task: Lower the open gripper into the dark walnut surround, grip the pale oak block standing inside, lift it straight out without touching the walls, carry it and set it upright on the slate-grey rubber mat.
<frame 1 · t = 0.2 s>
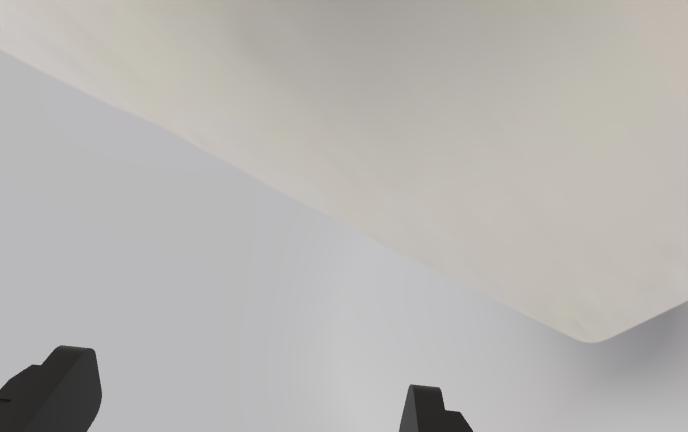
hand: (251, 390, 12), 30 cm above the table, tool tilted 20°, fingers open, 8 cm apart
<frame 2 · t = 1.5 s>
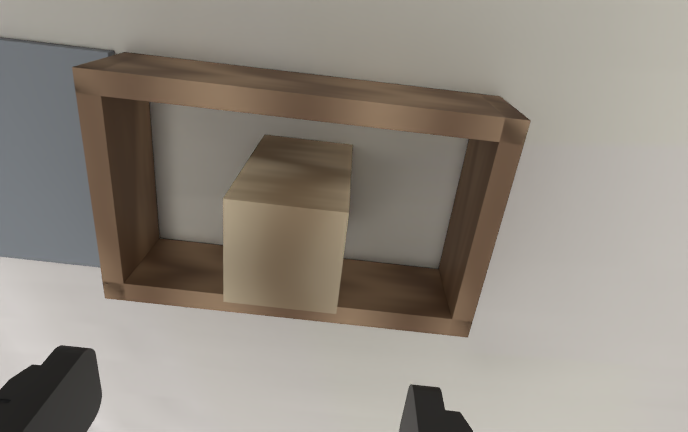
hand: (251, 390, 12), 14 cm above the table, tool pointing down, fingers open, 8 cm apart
oak block: (296, 213, 21), in the walnut surround
walnut surround: (305, 181, 25), on the table
slate mat: (21, 157, 25), on the table
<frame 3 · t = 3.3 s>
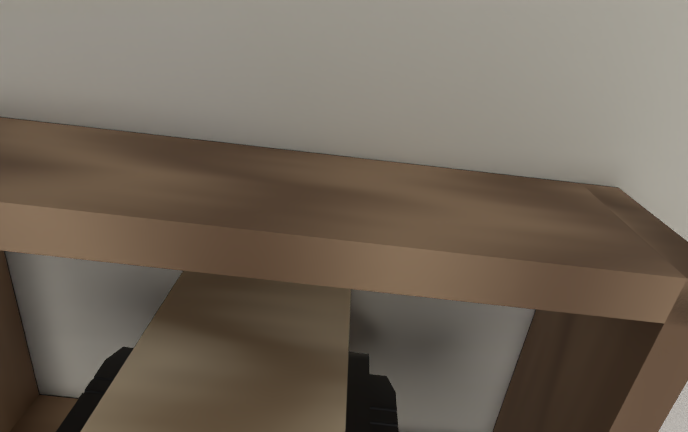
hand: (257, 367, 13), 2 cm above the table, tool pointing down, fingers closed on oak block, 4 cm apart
oak block: (242, 424, 11), in the walnut surround, touching gripper
walnut surround: (270, 317, 15), on the table
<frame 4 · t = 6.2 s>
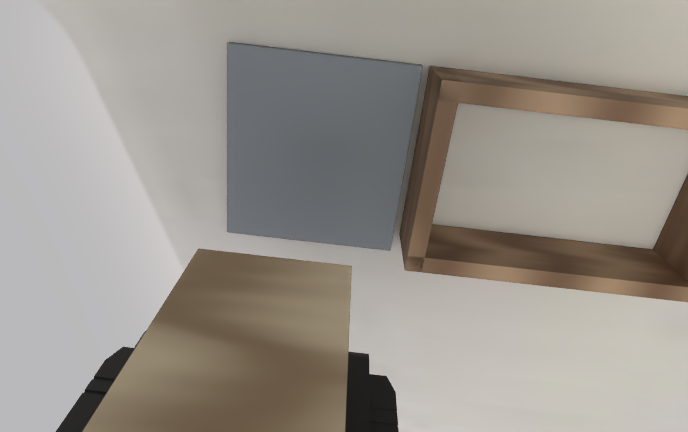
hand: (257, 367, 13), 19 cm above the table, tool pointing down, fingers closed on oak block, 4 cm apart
oak block: (242, 425, 11), point 20 cm above the table, touching gripper
walnut surround: (556, 173, 29), on the table
slate mat: (317, 153, 29), on the table
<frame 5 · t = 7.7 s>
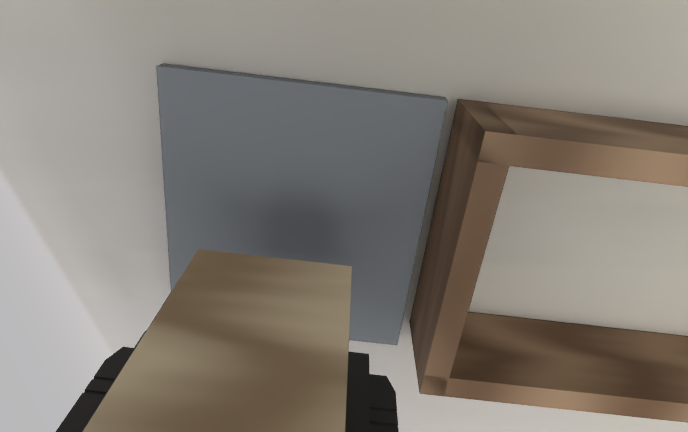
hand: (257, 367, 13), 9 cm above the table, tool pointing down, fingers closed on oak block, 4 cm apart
oak block: (242, 426, 11), point 11 cm above the table, touching gripper
walnut surround: (631, 246, 21), on the table
slate mat: (294, 218, 21), on the table
when the fingers open (4 cm above the table, at t = 9.2 s): oak block drops 1 cm, resting on slate mat.
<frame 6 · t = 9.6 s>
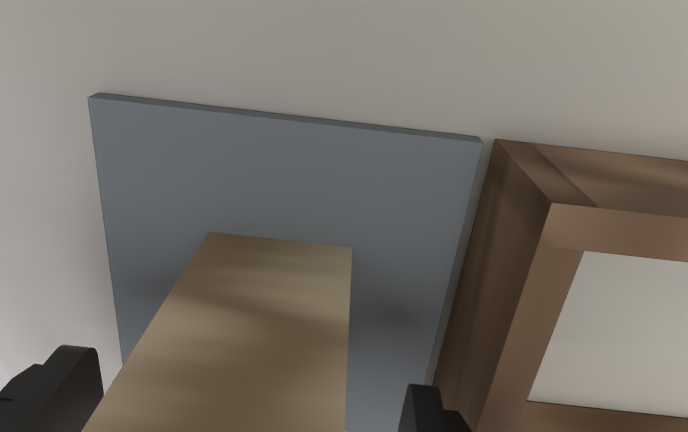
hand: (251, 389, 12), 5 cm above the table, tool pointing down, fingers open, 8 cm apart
oak block: (251, 391, 12), on the slate mat, point 5 cm above the table
slate mat: (279, 287, 16), on the table
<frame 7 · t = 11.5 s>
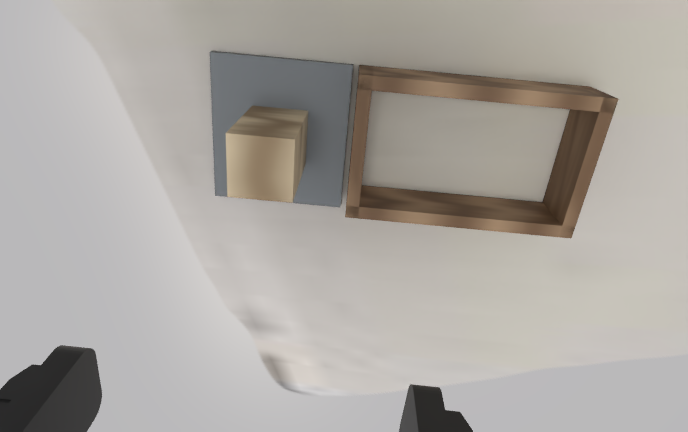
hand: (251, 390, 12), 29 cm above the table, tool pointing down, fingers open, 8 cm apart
oak block: (270, 150, 35), on the slate mat, point 5 cm above the table
walnut surround: (461, 144, 39), on the table
slate mat: (280, 132, 39), on the table
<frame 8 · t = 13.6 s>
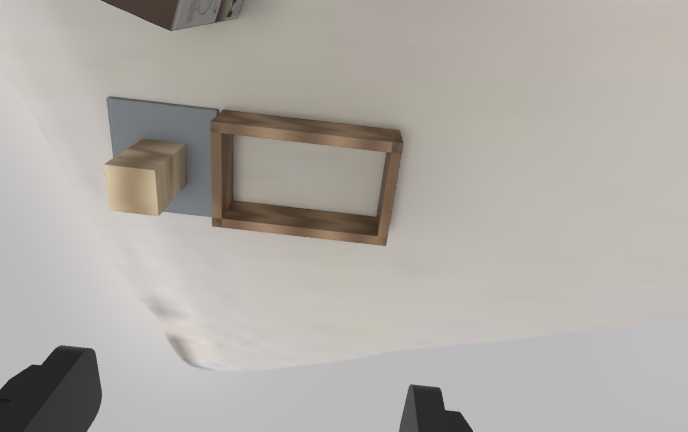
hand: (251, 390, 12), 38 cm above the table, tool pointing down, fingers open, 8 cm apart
oak block: (149, 175, 46), on the slate mat, point 5 cm above the table
walnut surround: (307, 170, 50), on the table
slate mat: (167, 159, 50), on the table
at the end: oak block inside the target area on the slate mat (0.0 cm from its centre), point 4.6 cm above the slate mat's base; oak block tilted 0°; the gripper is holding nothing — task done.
